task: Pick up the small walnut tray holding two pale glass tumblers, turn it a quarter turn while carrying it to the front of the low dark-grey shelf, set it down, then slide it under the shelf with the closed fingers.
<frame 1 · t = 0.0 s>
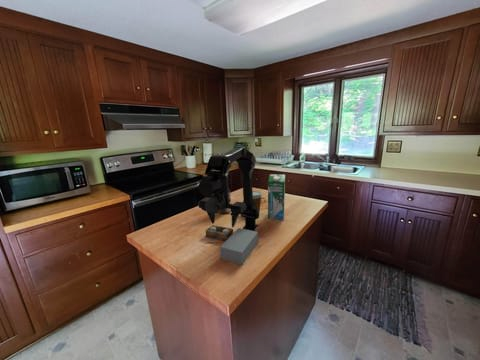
hand: (223, 225, 83), 15 cm above the table, tool pointing down, fingers open, 9 cm apart
grey shelf: (240, 250, 91), on the table
mortar and pestle: (222, 213, 132), on the table
milk carton: (276, 216, 124), on the table
walnut tray: (219, 235, 104), on the table
disposable coffee cup: (254, 211, 133), on the table
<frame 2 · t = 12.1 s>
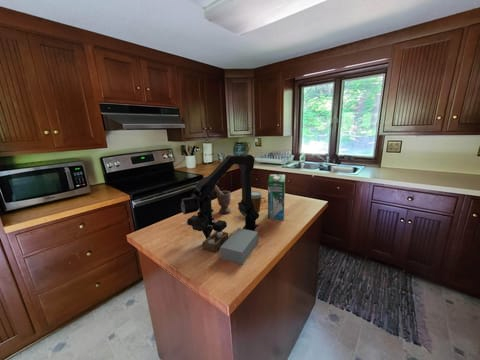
hand: (207, 239, 98), 1 cm above the table, tool pointing down, fingers closed
walnut tray: (216, 244, 96), on the table, touching gripper
everything else where it was.
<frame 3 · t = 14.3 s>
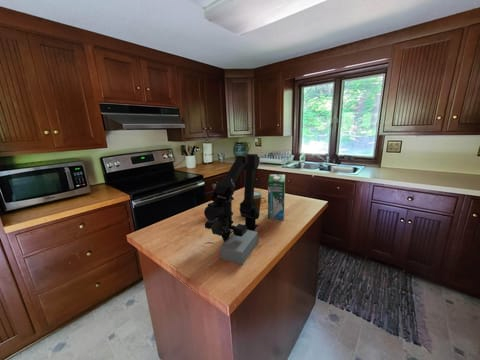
hand: (226, 243, 93), 2 cm above the table, tool pointing down, fingers closed
walnut tray: (234, 249, 92), on the table, touching gripper
everything else where it was.
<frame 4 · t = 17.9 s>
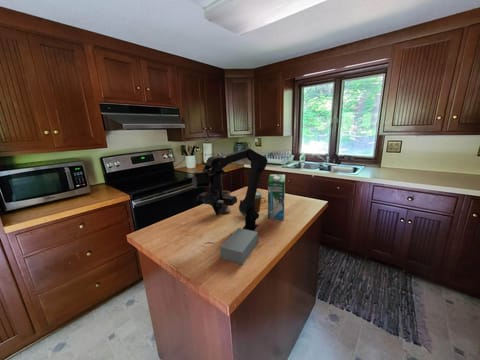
hand: (217, 215, 98), 12 cm above the table, tool pointing down, fingers closed
walnut tray: (234, 249, 92), on the table
everything else where it was.
at the end: walnut tray 2.1 cm from the target spot, on the table; walnut tray tilted 0° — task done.
